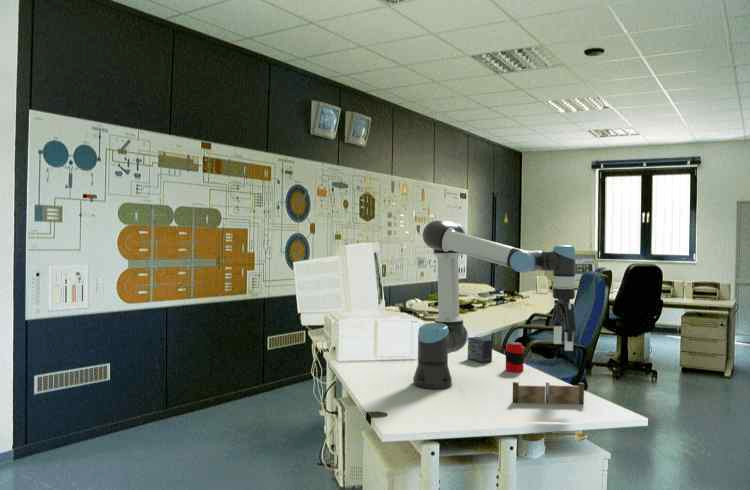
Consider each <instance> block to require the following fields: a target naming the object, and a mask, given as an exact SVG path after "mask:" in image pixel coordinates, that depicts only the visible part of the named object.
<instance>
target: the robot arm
mask: <svg viewBox="0 0 750 490" xmlns="http://www.w3.org/2000/svg"><path fill="white" fill-rule="evenodd" d="M422 239H423V242H424V244H425V245H426V246H427V247H429V249H433V255H434V256H435V257H436V258H437V261H436V262H437V263H436V264H437V301H438V303H437V305H438V306H437V308H438V311H437V313H438V314H437V315H438V316H437V317H435V319H434V322H430V323H425V324H421V325H420V327H419V328H418V334H417V338H418V339H417V340H418V341H417V367H416V369H415V372H414V375H413V377H412V382H413V385H414V386H416V387H418V388H421V389H427V390H443V389H448V388H450V387H452V385H453V379H452V376H451V373H450V372H451V371H450V368H449V365H448V361H449V360H448V359H449V354H452V353H456V352H459V350H461V349H463V348H464V347H465V346H466V343H468V338H469V333H468V330H467V328H466V327H465V325H464V319H463V318H462V317H461V316H460V292H459V291H460V288H459V287H460V285H459V281H460V280H459V278H460V277H459V257H460V256H461V255H465V256H469V257H472V258H476V259H480V260H483V261H486V262H489V263H493V264H496V265H498V266H499V265H500V266H504V267H506V268H509V269H512V270H514V271H515V272H517V273H528V272H537V271H542V272H544V271H546V272H552V273H553V274H552V275H553V276H552V286H553V289H552V298H553V299H554V301H553V302H554V306H553V312H552V317H551V318H552V319H551V324H553V344H554V345H562V341H563V340H562V336H563V335H562V333H563V332H564V351H565V352H568V351H569V352H572V351H573V352H574V333H575V332H577V329H576V328H577V327H576V321H575V313H574V303H571V300H574V299H575V297H576V296H575V295H576V294H575V292H576V290H575V289H574V288H575V287H576V286H575V283H576V281H577V279H576V249H575V247H574V245H554V246H553V249H552V250H536V249H535V250H534V249H528V250H527V249H526V250H525V249H521V248H517V247H513V246H511V245H507V244H503V243H500V242H496V241H492V240H488V239H485V238H482V237H477V236H474V235H470V234H466V231H465V229H464V227H463V226H462V225H461V224H460V223H459V222H455V221H452V220H451V221H450V220H446V221H445V220H432V221H430V222H429V223H427V224H426V225H425V226H424V228H423V230H422ZM563 323H564V328H565V329H563V330H564V331H563V330H562V328H563ZM562 331H563V332H562Z"/></svg>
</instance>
